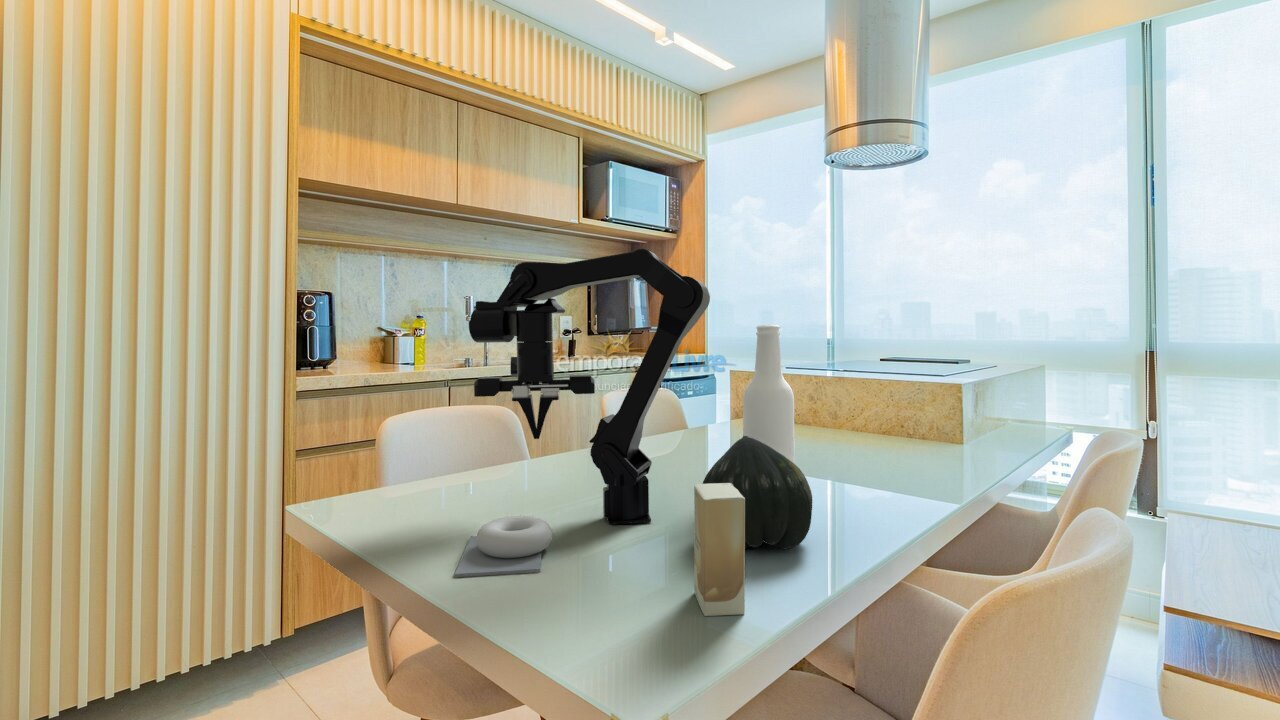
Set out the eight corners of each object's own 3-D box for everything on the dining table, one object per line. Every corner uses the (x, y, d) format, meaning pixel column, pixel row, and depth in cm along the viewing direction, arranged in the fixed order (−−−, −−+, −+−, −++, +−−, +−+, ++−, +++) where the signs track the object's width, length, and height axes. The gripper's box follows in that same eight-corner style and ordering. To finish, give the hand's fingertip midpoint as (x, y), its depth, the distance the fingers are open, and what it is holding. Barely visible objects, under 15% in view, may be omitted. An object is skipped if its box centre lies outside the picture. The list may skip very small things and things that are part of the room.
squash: (810, 529, 73) (808, 422, 82) (686, 524, 77) (697, 423, 86) (815, 574, 83) (813, 475, 92) (705, 568, 87) (714, 474, 97)
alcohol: (794, 490, 112) (793, 325, 111) (794, 503, 103) (794, 324, 102) (744, 488, 114) (744, 325, 113) (741, 501, 105) (740, 325, 104)
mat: (542, 535, 88) (542, 532, 88) (540, 572, 75) (539, 568, 75) (471, 539, 87) (470, 536, 87) (454, 577, 73) (454, 574, 73)
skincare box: (693, 592, 68) (692, 482, 68) (731, 590, 69) (731, 481, 68) (704, 618, 62) (703, 497, 61) (746, 616, 62) (745, 496, 62)
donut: (520, 539, 75) (458, 529, 80) (521, 567, 75) (459, 555, 80) (567, 517, 84) (509, 509, 88) (567, 542, 84) (510, 533, 89)
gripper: (590, 341, 108) (591, 429, 109) (481, 342, 106) (483, 433, 106) (594, 341, 97) (595, 439, 98) (472, 343, 95) (475, 444, 95)
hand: (536, 438), depth 100 cm, fingers closed
